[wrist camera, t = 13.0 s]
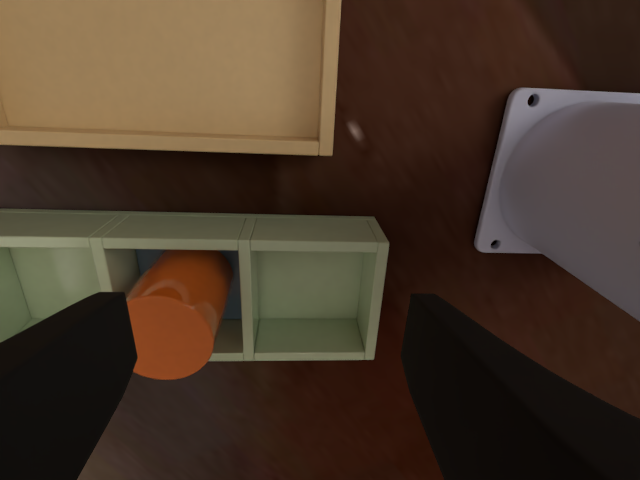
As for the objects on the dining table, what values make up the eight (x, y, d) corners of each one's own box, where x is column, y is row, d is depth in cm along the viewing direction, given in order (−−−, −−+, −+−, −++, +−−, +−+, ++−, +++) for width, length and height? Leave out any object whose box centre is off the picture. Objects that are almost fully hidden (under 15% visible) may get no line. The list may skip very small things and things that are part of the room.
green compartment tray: (374, 216, 18) (390, 242, 15) (362, 320, 21) (374, 360, 18) (-6, 207, 17) (-72, 235, 14) (31, 320, 20) (-18, 363, 17)
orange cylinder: (231, 241, 18) (209, 296, 13) (235, 309, 19) (217, 380, 15) (147, 239, 17) (94, 296, 13) (158, 309, 19) (115, 381, 14)
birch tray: (346, -162, 13) (353, -196, 11) (329, 149, 17) (332, 156, 15) (-94, -206, 12) (-155, -251, 10) (6, 138, 16) (-25, 144, 14)
